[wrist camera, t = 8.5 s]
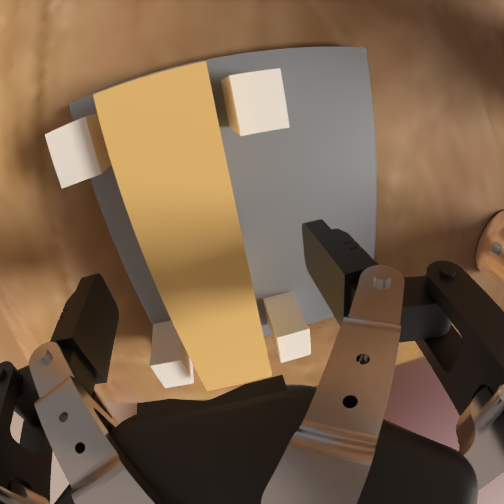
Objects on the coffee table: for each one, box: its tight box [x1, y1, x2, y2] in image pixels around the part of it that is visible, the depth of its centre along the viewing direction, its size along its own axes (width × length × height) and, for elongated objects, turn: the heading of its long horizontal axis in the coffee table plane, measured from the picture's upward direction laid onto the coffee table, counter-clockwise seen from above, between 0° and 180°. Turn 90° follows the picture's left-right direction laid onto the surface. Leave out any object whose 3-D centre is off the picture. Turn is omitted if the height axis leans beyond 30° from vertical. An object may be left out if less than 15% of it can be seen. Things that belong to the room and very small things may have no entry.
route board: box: [45, 47, 376, 388], centre depth 13 cm, size 15×13×4 cm
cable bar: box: [93, 61, 272, 391], centre depth 12 cm, size 13×3×4 cm, turn 10°
